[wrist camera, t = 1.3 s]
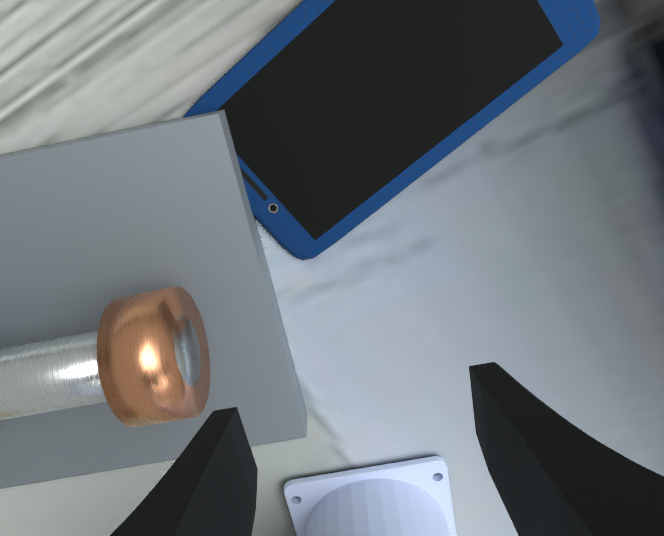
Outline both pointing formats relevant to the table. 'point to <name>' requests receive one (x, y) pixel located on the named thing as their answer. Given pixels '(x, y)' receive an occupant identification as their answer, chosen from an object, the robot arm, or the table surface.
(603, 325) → the table surface
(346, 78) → the cell phone
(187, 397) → the copper and silver rod
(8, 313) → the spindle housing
